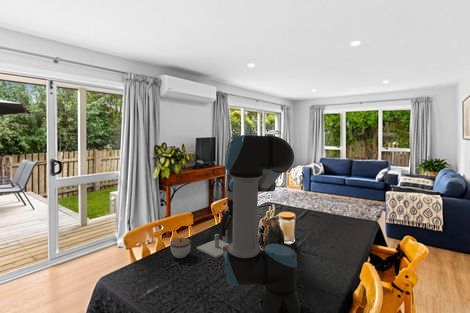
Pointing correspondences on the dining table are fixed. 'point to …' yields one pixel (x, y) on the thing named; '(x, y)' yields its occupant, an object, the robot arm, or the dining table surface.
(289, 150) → the robot arm
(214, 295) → the dining table surface
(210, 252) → the post block
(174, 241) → the lidded jar
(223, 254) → the collar
